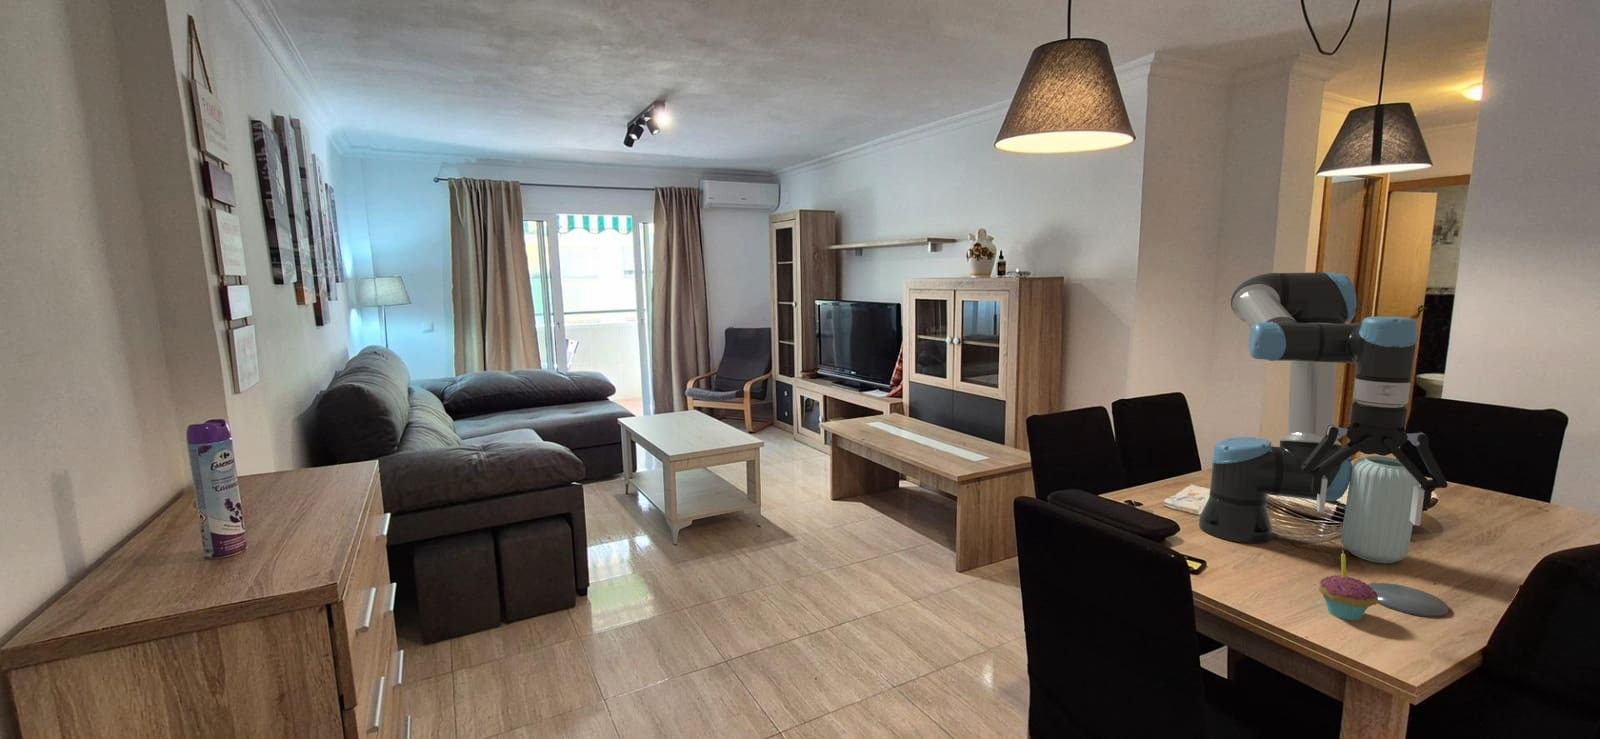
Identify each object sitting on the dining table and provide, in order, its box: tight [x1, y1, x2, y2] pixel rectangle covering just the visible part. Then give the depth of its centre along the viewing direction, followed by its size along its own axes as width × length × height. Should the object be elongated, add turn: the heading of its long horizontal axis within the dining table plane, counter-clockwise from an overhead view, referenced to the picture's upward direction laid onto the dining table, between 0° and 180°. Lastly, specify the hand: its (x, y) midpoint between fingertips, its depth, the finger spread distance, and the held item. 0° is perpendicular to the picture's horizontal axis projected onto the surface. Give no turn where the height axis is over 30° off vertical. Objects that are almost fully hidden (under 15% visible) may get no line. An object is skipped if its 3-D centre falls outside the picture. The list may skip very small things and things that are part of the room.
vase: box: [1340, 455, 1421, 564], centre depth 148 cm, size 12×12×22 cm
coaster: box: [1367, 582, 1449, 618], centre depth 130 cm, size 12×12×1 cm
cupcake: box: [1318, 549, 1378, 621], centre depth 124 cm, size 9×8×12 cm
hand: (1365, 516), depth 122 cm, fingers open, 13 cm apart
